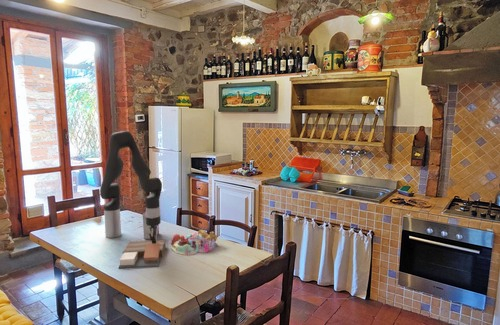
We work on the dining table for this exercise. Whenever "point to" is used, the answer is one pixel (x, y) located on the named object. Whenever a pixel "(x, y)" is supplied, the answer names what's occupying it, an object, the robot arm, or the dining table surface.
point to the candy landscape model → (194, 243)
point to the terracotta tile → (152, 252)
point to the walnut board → (143, 247)
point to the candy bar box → (147, 227)
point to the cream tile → (128, 258)
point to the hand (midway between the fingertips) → (154, 246)
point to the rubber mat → (142, 263)
